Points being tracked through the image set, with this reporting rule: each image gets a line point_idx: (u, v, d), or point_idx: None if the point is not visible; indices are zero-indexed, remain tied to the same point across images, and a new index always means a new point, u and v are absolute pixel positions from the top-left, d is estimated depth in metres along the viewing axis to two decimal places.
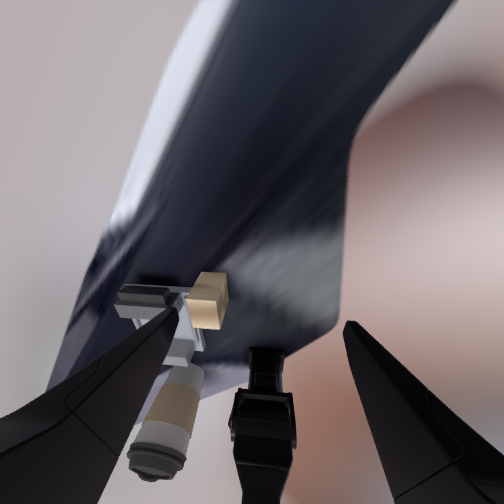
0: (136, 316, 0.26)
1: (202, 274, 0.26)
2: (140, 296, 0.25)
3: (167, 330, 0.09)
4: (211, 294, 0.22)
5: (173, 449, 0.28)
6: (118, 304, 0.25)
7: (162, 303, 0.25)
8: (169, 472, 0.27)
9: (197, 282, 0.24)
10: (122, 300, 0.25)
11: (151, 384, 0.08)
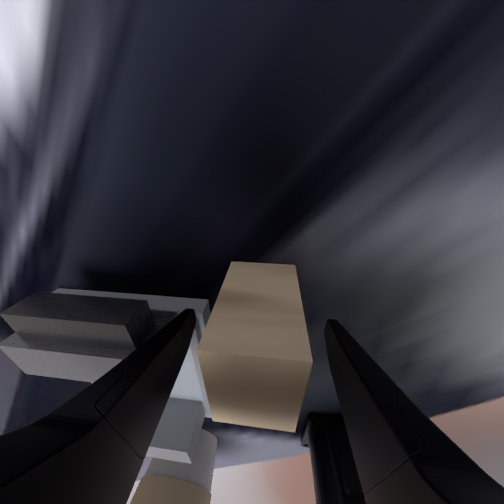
0: (62, 374, 0.10)
1: (235, 267, 0.10)
2: (64, 325, 0.09)
3: (186, 332, 0.09)
4: (283, 330, 0.07)
5: None
6: (10, 344, 0.09)
7: (126, 345, 0.09)
8: None
9: (226, 288, 0.09)
10: (21, 334, 0.09)
11: (172, 387, 0.08)
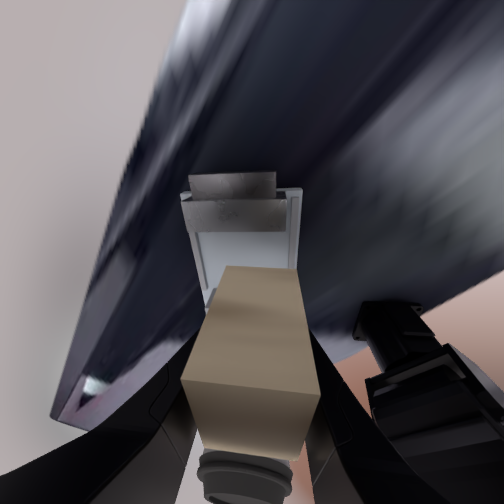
0: (217, 226, 0.15)
1: (230, 272, 0.09)
2: (231, 179, 0.13)
3: None
4: (284, 351, 0.06)
5: (279, 462, 0.16)
6: (188, 201, 0.14)
7: (270, 192, 0.14)
8: None
9: (219, 297, 0.08)
10: (195, 194, 0.14)
11: None
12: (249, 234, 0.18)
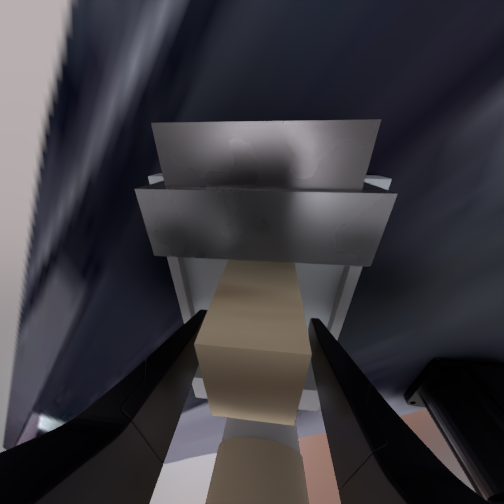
0: (218, 248, 0.07)
1: (233, 261, 0.10)
2: (259, 138, 0.05)
3: None
4: (282, 323, 0.06)
5: None
6: (153, 189, 0.06)
7: (352, 176, 0.06)
8: None
9: (225, 282, 0.08)
10: (170, 173, 0.06)
11: (189, 389, 0.08)
12: None
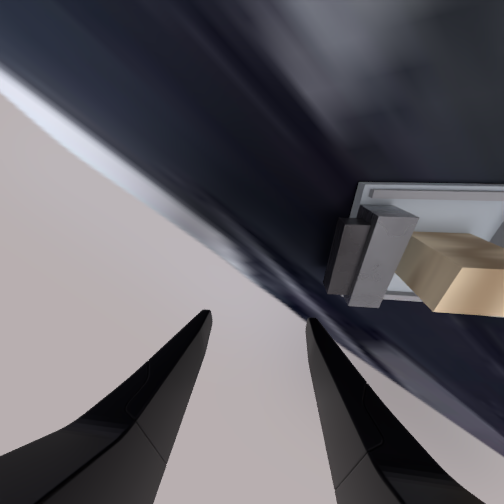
0: (383, 283, 0.15)
1: None
2: (340, 263, 0.15)
3: (204, 333, 0.09)
4: (441, 269, 0.12)
5: None
6: (349, 299, 0.16)
7: (364, 230, 0.13)
8: None
9: (406, 280, 0.15)
10: (344, 292, 0.16)
11: (192, 389, 0.08)
12: None
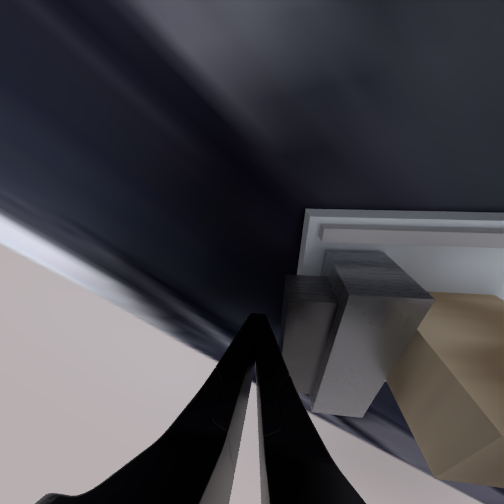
0: (367, 390, 0.08)
1: None
2: (291, 354, 0.08)
3: None
4: (450, 402, 0.06)
5: None
6: (313, 404, 0.10)
7: (326, 310, 0.07)
8: None
9: None
10: (304, 390, 0.10)
11: (248, 396, 0.08)
12: None
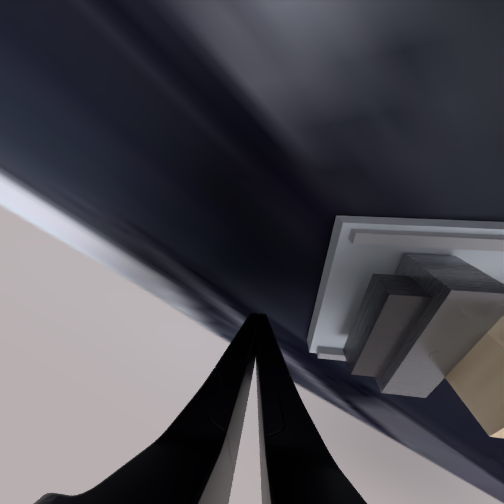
0: (439, 372, 0.10)
1: None
2: (375, 341, 0.10)
3: None
4: None
5: None
6: (384, 385, 0.11)
7: (419, 303, 0.08)
8: None
9: None
10: (376, 374, 0.11)
11: (248, 395, 0.08)
12: None
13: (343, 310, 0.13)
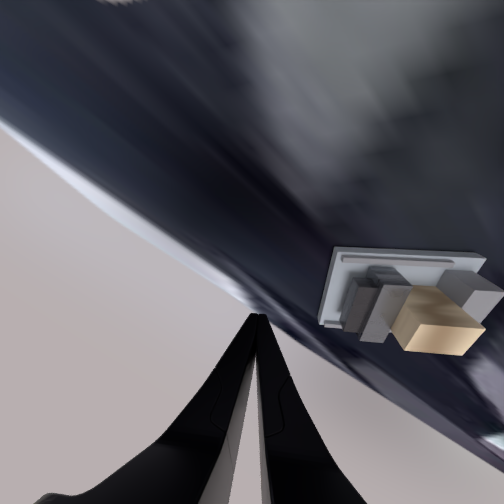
0: (386, 326, 0.19)
1: None
2: (354, 311, 0.19)
3: None
4: (409, 321, 0.17)
5: None
6: (360, 336, 0.21)
7: (373, 291, 0.18)
8: None
9: None
10: (356, 330, 0.21)
11: (248, 395, 0.08)
12: None
13: (339, 297, 0.22)
